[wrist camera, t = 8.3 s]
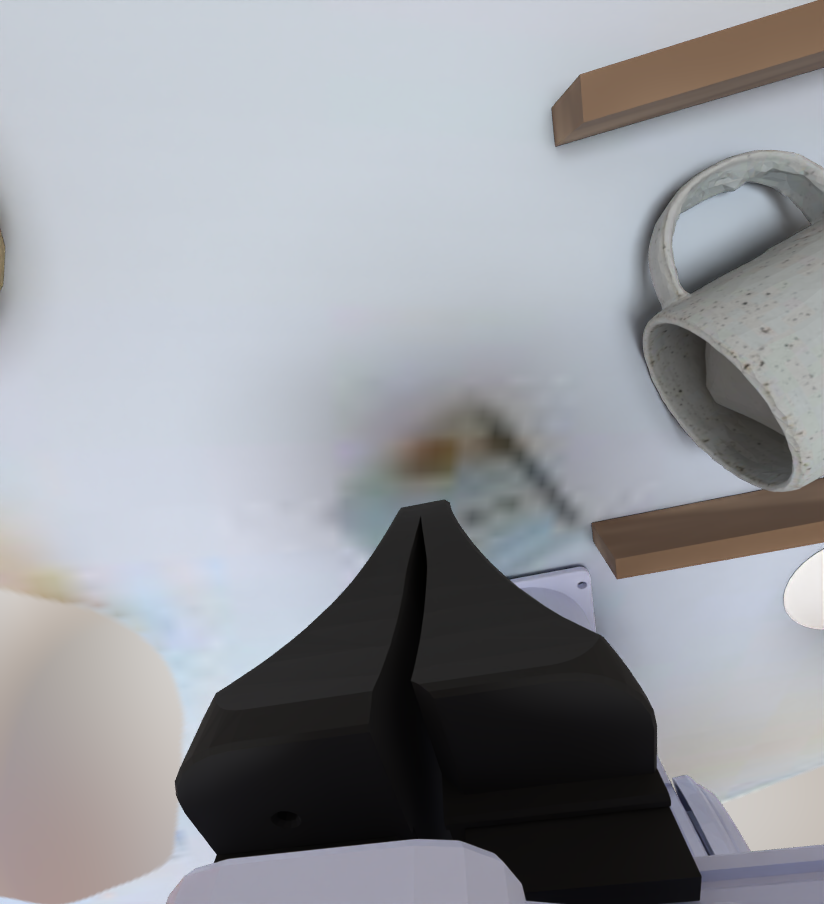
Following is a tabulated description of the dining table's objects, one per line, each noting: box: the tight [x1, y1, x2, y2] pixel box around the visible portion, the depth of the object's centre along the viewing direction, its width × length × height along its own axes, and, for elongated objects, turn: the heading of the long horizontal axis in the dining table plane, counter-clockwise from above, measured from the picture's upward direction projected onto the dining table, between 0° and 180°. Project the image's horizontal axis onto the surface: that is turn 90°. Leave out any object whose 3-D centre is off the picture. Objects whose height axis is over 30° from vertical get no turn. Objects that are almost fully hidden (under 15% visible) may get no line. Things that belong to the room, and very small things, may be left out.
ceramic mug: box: [643, 150, 824, 492], centre depth 15 cm, size 11×8×8 cm
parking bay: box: [552, 0, 824, 579], centre depth 17 cm, size 19×17×3 cm
